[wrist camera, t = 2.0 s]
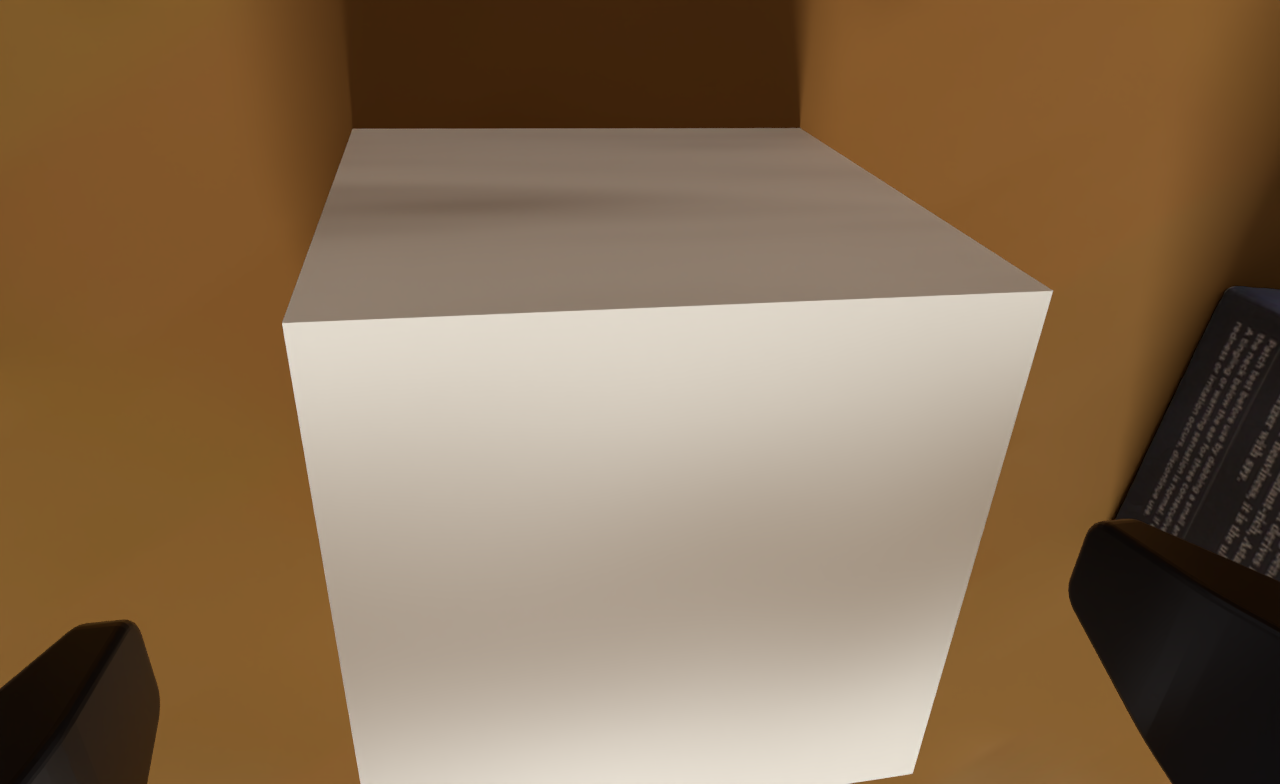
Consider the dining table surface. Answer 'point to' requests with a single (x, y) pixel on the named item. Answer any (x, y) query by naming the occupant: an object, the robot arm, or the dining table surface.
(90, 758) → the robot arm
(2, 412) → the dining table surface
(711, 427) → the cream cube
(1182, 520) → the small box
